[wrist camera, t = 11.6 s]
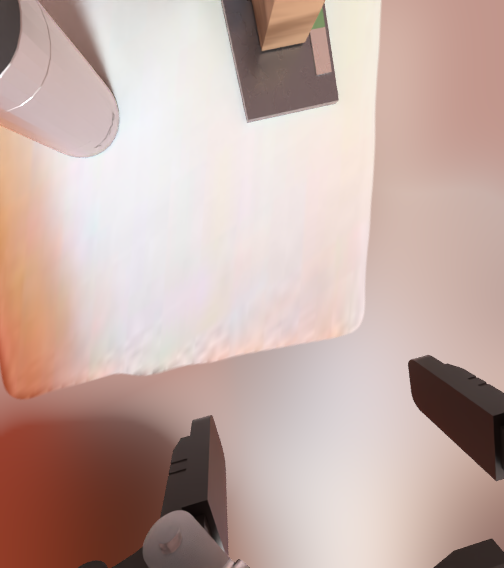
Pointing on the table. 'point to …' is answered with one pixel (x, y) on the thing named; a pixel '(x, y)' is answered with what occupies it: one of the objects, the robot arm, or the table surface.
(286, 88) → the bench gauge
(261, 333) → the table surface
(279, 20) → the block
